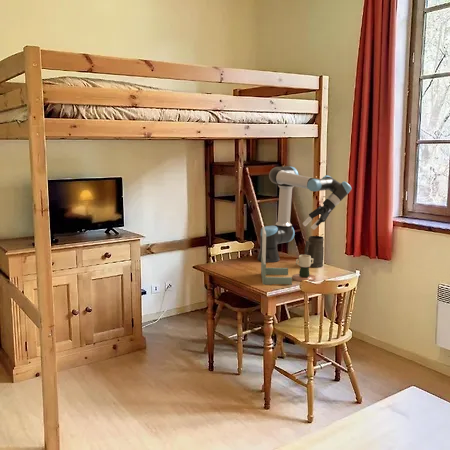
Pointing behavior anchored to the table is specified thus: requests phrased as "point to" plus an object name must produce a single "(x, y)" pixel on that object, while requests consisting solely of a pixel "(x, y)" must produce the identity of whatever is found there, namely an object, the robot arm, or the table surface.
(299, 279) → the terracotta saucer
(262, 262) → the grey-green stand
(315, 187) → the robot arm
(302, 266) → the character mug
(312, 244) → the beer stein
